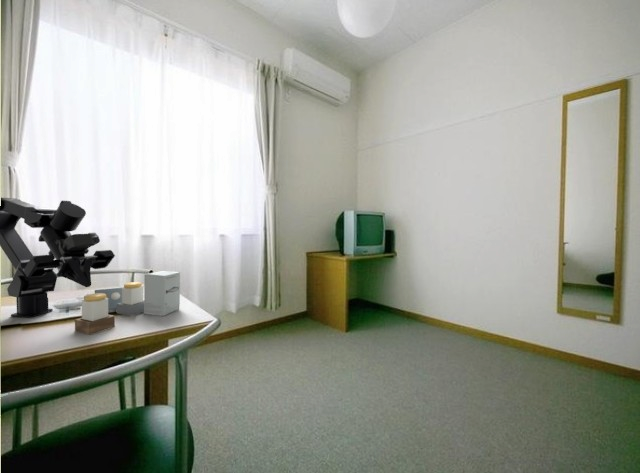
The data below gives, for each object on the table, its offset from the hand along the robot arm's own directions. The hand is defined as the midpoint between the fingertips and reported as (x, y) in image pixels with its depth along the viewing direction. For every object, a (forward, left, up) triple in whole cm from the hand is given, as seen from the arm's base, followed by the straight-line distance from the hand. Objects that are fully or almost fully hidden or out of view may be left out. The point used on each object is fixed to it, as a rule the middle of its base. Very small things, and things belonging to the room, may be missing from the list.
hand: (88, 286), depth 75 cm
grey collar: (+2, +13, -11) cm, 18 cm away
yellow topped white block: (+2, +13, -8) cm, 16 cm away
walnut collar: (+2, -1, -11) cm, 12 cm away
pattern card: (-6, +14, -11) cm, 19 cm away
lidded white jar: (+2, -1, -8) cm, 9 cm away
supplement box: (+11, +15, -12) cm, 22 cm away
